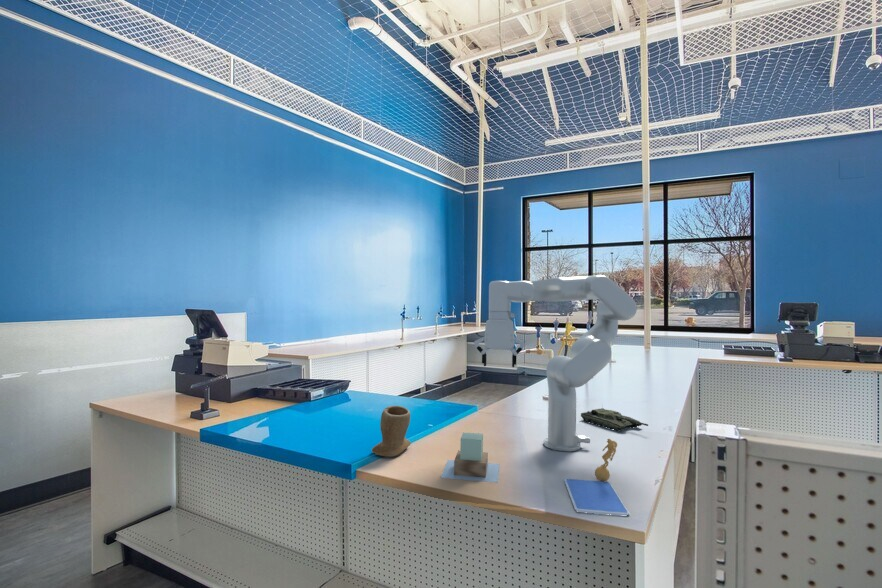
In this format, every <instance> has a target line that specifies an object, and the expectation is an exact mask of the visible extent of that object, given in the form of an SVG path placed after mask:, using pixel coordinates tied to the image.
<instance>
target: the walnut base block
mask: <svg viewBox="0 0 882 588" xmlns="http://www.w3.org/2000/svg"><path fill="white" fill-rule="evenodd" d="M488 457H489V455H488V452H486V451H485V452H484V451H483V455H482V460H481V461H473V460H460V449H459V450H457V452H456V455H455V457H454V459H453V460H454V475H458V476H471V477H483V478H486V473H487V467H488V463H489V461H488V460H489V458H488Z"/></svg>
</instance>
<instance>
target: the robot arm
mask: <svg viewBox="0 0 882 588" xmlns="http://www.w3.org/2000/svg"><path fill="white" fill-rule="evenodd" d="M590 300H598V302H597V305H596V321H595V323H594V324H593V326H591V328H589V329H588V330H587V331H586V332H585V333H583V334H582V335H581V336H580V337H579V338H578V339H577V340H576V341H574V342H573V344H572V345H571V347H570V356H571V357H570V356H566V355H555V356H553V357H552V358H550V359H549V360H548V362H547V364H546V369H545V372H546V380H547V388H548V391H547V392H548V393H547V394H548V395H547V396H548V398H547V399H548V401H547V402H548V404H547V405H548V407H547V438H545V439H544V440H543V442H542V443H543V445H544V446H545V447H546V448H548V449H550V450H554V451H559V452H575V451H578V450H580V449H581V443H582V444H583V443H584V444H591V438H590V437H587V436H585V435H579V434H577V390H576V388H577V389H578V388H580V387H583V386H584V385H586V384H587V383H588V382H590V381H591V380H592V379H593V378H594V377H595V376H596V375H598V373H600V372H601V371H602V370H603V369H604V368H606V366H607V365H608V364H609V362H610V360H611V359H612V358H611V357H612V348H611V346H610V345H611V344H612V342H614V340H615V339H616V338H617V336H618V329H619V321H622V322H623V321H629V320H631V319H632V318H634V317H635V315H636V314H637V309H638V308H637V303H636V301H635V300H634V299H633V297H631V295H629V294H628V293H627V292H626V291H625V289H622V288H621V287H620V286H619V285H618V284H617V283H616V282H614V280H612V279H611V278H609V277H608V276H606V275H602V274H597V275H586V276H585V275H583V276H568V277H567V276H564V277H561V276H559V277H551V278H546V279H540V280H517V281H516V280H515V281H508V280H492V281H490V282H489V285H488V320H486V322H485V329H484V336H482V337H480V338H478V339H476V340H474V342H473V343H474V345H475V347H476V350H478V352H479V353H480V354H481V364H483V367H486V366H487V351H488V350H501V351H502V350H503V351H504V350H505V351H506V350H507V351H508V350H509V351H510V352H511V353H512V355H511V358H512V359H511V367H512V368H515V365H517V356H518V354H520V353H521V352H522V350H523V349H524V347H525V345H526V343H525V342H524V341H523V340H520V339H519V338H517V337H515V329H514V328H515V327H514V322H513V320H511V319H512V318H515V317H516V313H513V312H512V311H511V309H512V308H511V307H512V306H511V305H512V303H527V302H551V303H552V302H571V301H573V302H574V301H590ZM511 302H512V303H511ZM482 342H484V348H482V347H481V346H480V343H482ZM515 343H517V344H519V346H518V348H517V349H515V348H514V347H515Z"/></svg>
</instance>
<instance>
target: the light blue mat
mask: <svg viewBox="0 0 882 588" xmlns="http://www.w3.org/2000/svg"><path fill="white" fill-rule="evenodd" d="M454 460H455V459H453V460H452V459H447V461H446V464H445V466H444V468H443V471H442V473H441V476H440V478H441V479H452V480H464V481H474V482H475V481H476V482H487V483H488V482H489V483H496V484H497V483H499V475H500V463H494V462H493V463H492V462H488V467H487V473H486V478H483V477H471V476H458V475H454Z"/></svg>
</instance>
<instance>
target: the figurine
mask: <svg viewBox="0 0 882 588" xmlns="http://www.w3.org/2000/svg"><path fill="white" fill-rule="evenodd" d="M606 443H607V445H606V446H604V448H602V452H605V450H606V449H607V451H606V452H605V453H604V454H603V455H602V456H601V457H602V458H601V459H603V461H604V463H603V464H601V465H600V466H597V467H596V468H595V470H594V476H595V478H596V480H597V481H604V482H608V480H609V479H610V476H611V475H610V471H609V470H608V468H607V467H608V466H609V462H612V461H613V458H614V457H615V454H616V452H617V447H618V442H617V441H615V440H612V439H610V438H607V440H606ZM608 460H609V461H608Z"/></svg>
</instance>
